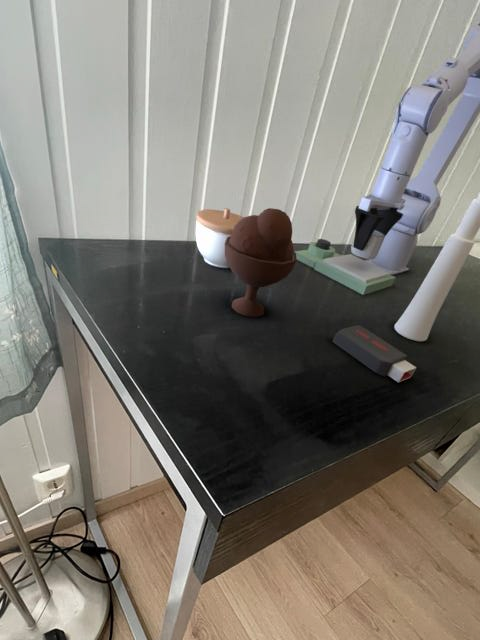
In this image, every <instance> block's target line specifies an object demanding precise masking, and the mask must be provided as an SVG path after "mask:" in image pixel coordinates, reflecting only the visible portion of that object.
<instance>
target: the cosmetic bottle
mask: <svg viewBox="0 0 480 640" xmlns="http://www.w3.org/2000/svg"><path fill="white" fill-rule="evenodd" d="M479 231H480V191H479V192H478V194H477V197H476V198H474V199H472V200H471V203H470V205H468V208H467V210H466V212H465V214H464V215H463V217H462V219H461V221H460V223H459V225H458V226H457V228H456V230H455V232H454V233H451V234H450V235H449V237H448V239H447V240H446V242H445V244H444V245H443V247H442V248H441V250H440V252H439V254H438V255H437V257H436V259H434V262H433V264H432V266H431V267H430V269H429V270H428V272H427V275H426V276H425V277H424V279H423V281H422V283H421V284H420V286H419V288H418V289H417V291H416V293H415V295H414V296H413V298H412V299H411V301H410V303H409V304H408V306H407V307H406V308H405V310H404V312H403V313H402V315H401V316H400V317H399V319H398V320H397V321H396V323H394V325H393V326H394V327H393V328H394V330H395V332H396V333H397V334H399V335H400V336H402V337H403V338H406V339H408V340H411V341H415V342H426V341H427V340H428V338H429V335H430V332H431V330H432V328H433V326H434V323H435V321H436V319H437V317H438V314H439V312H440V310H441V308H442V306H443V304H444V302H445V300H446V299H447V297H448V294H449V292H450V291H451V289H452V287H453V285H454V284H455V282H456V279H457V277H458V276H459V274H460V272H461V270H462V268H463V266H464V264H465V263H466V261H467V258H469V257H468V256H469V255H470V253H471V251H472V249H473V247H474V245H475V242H476V241H475V240H474V239H475V237H476V235H477V234H478V232H479Z"/></svg>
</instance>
